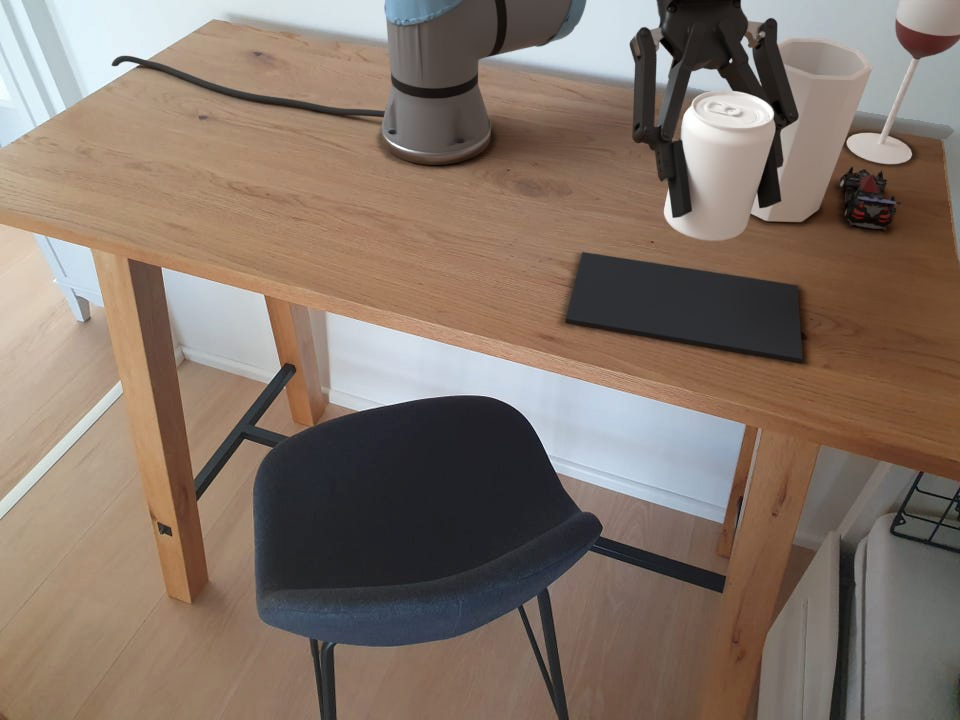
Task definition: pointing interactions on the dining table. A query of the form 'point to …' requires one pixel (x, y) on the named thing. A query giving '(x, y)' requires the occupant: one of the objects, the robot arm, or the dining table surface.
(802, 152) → the cup
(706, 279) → the place mat
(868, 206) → the toy car
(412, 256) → the dining table surface
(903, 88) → the wineglass
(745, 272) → the dining table surface
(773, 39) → the robot arm
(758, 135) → the beverage can
